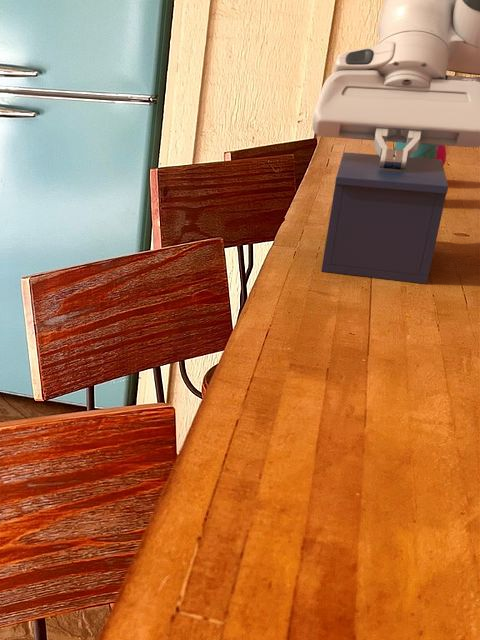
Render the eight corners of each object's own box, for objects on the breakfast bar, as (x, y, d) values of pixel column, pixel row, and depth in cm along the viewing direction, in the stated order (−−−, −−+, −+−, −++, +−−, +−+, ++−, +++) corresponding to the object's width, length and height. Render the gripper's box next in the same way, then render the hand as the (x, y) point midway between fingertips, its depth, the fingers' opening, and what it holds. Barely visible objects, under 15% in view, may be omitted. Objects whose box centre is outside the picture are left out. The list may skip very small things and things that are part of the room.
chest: (426, 284, 105) (446, 192, 101) (321, 271, 109) (335, 183, 105) (423, 249, 119) (440, 166, 114) (329, 239, 123) (342, 159, 118)
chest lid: (446, 194, 100) (448, 186, 100) (335, 184, 104) (336, 176, 104) (440, 166, 114) (441, 159, 114) (342, 158, 118) (343, 152, 118)
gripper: (493, 95, 110) (482, 189, 106) (321, 86, 117) (304, 173, 113) (506, 61, 105) (494, 158, 100) (324, 53, 112) (306, 143, 107)
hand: (392, 166), depth 107 cm, fingers closed, pressing on chest lid
